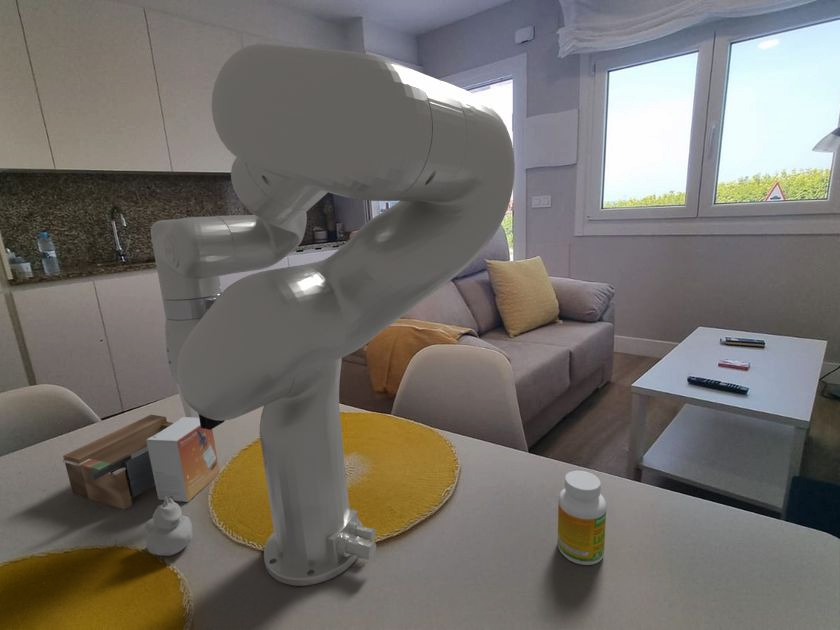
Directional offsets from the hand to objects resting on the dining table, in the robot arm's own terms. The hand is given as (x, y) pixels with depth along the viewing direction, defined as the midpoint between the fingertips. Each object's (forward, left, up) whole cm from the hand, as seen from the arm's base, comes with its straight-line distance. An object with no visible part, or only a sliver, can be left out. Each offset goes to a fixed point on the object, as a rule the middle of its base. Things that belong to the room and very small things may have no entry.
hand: (213, 424), depth 66 cm
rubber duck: (-2, +11, -12) cm, 17 cm away
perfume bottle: (+19, -13, -12) cm, 26 cm away
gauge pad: (+14, +2, -11) cm, 18 cm away
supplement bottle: (-53, -5, -12) cm, 54 cm away
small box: (+7, 0, -12) cm, 14 cm away
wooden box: (+19, 0, -12) cm, 22 cm away
